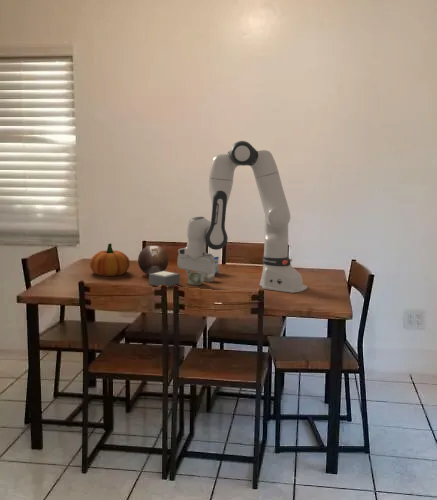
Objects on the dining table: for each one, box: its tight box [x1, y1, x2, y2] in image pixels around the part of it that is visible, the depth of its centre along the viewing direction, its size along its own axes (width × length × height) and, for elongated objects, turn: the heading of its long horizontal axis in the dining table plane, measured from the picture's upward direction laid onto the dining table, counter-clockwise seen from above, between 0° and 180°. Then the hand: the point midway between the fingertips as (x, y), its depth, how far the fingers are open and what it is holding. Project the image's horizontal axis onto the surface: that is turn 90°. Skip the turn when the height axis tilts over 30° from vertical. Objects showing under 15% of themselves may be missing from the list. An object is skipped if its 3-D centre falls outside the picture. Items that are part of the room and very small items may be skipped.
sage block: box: [187, 271, 204, 286], centre depth 288 cm, size 5×5×5 cm
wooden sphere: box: [137, 244, 169, 276], centre depth 303 cm, size 15×15×15 cm
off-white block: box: [199, 272, 216, 283], centre depth 295 cm, size 5×5×5 cm
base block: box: [148, 270, 180, 287], centre depth 285 cm, size 10×10×5 cm
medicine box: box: [213, 255, 220, 275], centre depth 310 cm, size 8×4×9 cm, turn 143°
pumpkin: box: [89, 243, 131, 277], centre depth 304 cm, size 19×19×15 cm
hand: (195, 280), depth 288 cm, fingers closed on sage block, 5 cm apart
